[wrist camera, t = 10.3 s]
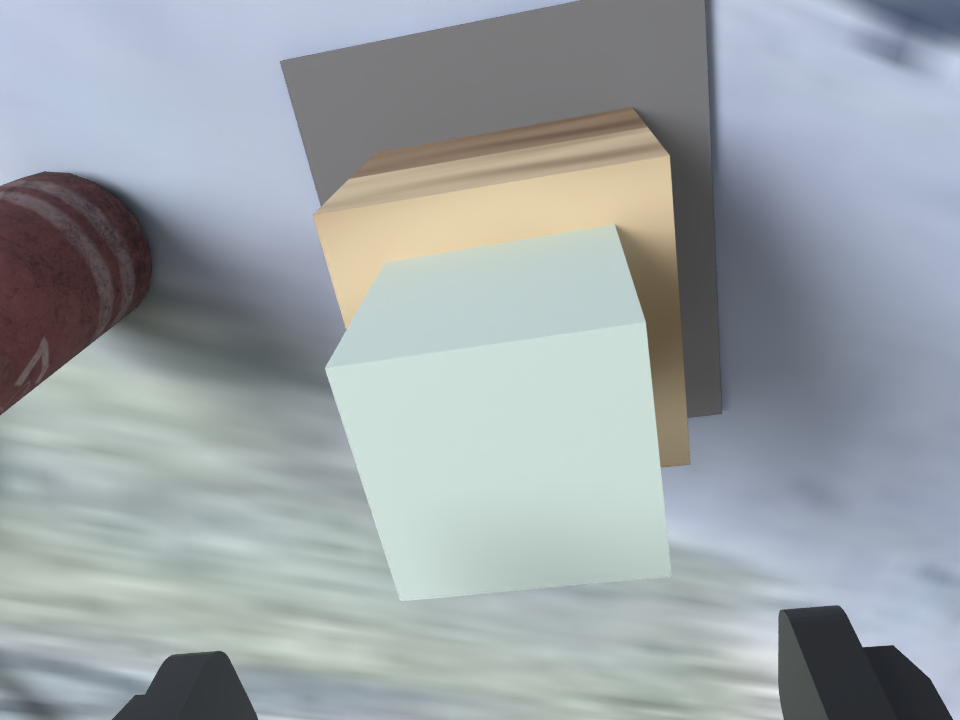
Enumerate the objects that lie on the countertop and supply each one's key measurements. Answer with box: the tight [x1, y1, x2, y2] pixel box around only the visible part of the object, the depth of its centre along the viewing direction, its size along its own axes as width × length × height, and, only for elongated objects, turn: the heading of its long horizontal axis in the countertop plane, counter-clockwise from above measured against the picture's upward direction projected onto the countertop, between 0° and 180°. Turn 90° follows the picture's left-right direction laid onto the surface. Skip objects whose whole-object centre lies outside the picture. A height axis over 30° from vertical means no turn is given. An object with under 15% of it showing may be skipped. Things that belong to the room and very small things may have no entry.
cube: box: [325, 224, 672, 601], centre depth 17 cm, size 6×6×6 cm
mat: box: [280, 0, 722, 418], centre depth 27 cm, size 16×14×1 cm
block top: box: [313, 127, 690, 467], centre depth 22 cm, size 9×9×4 cm
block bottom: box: [350, 107, 647, 179], centre depth 25 cm, size 9×9×4 cm
